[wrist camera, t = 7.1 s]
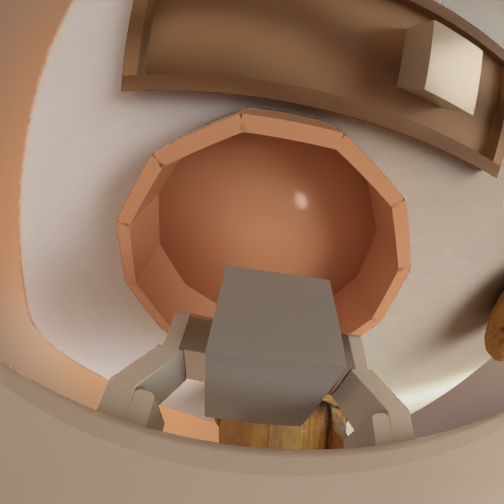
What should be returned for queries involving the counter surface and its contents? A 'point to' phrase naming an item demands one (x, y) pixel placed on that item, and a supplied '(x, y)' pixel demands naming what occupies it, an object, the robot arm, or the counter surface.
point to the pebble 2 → (441, 67)
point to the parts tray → (316, 62)
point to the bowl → (264, 217)
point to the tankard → (290, 431)
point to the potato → (496, 330)
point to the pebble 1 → (271, 347)
